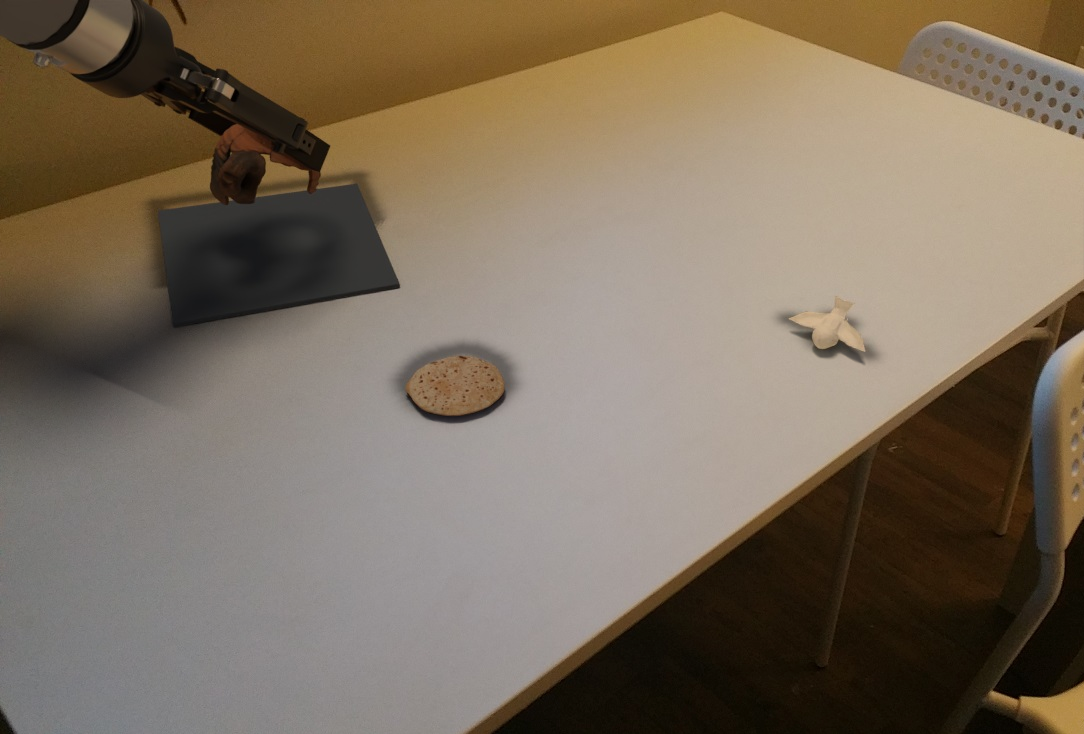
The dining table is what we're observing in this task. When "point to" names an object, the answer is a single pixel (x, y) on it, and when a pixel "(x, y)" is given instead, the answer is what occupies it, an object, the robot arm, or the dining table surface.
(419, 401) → the flatbread
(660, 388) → the dining table surface
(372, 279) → the placemat
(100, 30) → the robot arm
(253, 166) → the broken brown clay pot
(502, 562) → the dining table surface
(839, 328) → the white bird figurine
